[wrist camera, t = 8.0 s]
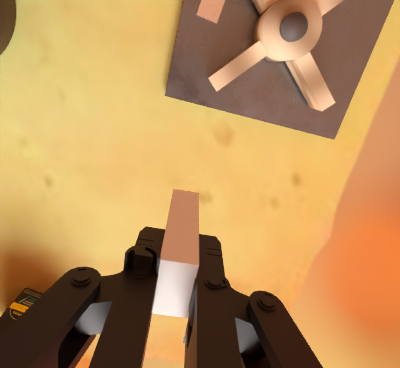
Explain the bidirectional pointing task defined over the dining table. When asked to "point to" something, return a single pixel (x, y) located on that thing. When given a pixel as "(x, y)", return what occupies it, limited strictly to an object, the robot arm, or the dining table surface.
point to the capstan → (285, 46)
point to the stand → (272, 71)
